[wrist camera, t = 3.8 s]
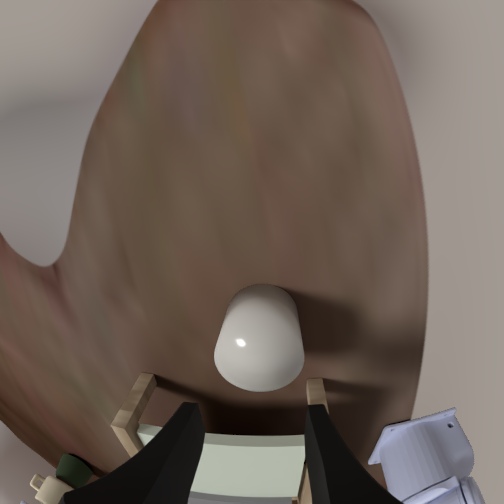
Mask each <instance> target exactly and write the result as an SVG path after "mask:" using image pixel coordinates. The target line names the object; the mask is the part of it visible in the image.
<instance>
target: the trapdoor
mask: <svg viewBox="0 0 504 504" xmlns="http://www.w3.org/2000/svg"><path fill="white" fill-rule="evenodd" d="M162 428H163V427H158V426H153V425H147V424H142V423H141V424H140V426H139V428H138V430H137V434H138V436H139V438H140V440H141V441H142V443H143V445H144V446H145V445H146V444H147V443H148V442H149V441H150V440H151V439H152V438H153V437H154V436H155V435H156V434H157V433H158V432H159V431H160V430H161V429H162ZM304 460H305V440H304V435H289V436H243V435H224V434H211V433H205V439H204V445H203V451H202V454H201V458H200V461H199V464H198V468H197V471H196V474H195V477H194V481H193V484H192V487H191V490H190V494H189V499H188V504H292V497H297V495H298V491H299V486H300V481H301V476H302V471H303V465H304Z"/></svg>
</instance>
